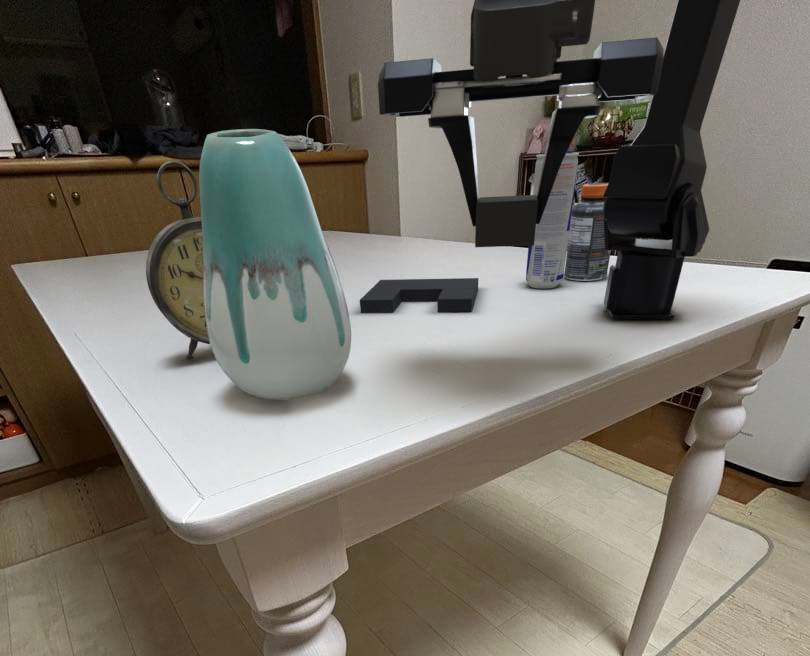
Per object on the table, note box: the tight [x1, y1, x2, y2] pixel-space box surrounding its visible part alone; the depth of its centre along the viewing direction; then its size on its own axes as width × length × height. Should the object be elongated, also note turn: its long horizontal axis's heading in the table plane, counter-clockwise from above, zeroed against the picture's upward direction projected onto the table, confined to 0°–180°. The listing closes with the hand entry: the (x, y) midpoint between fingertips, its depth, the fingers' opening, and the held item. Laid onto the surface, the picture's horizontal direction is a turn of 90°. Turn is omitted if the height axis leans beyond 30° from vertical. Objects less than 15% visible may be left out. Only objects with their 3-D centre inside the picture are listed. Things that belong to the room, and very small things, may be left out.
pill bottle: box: [563, 182, 611, 282], centre depth 71 cm, size 6×6×11 cm
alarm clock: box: [145, 160, 210, 361], centre depth 50 cm, size 11×5×16 cm, turn 119°
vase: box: [198, 128, 352, 401], centre depth 40 cm, size 12×12×18 cm
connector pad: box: [474, 194, 538, 248], centre depth 41 cm, size 5×5×3 cm
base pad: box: [359, 277, 479, 314], centre depth 68 cm, size 14×12×2 cm
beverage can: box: [525, 150, 580, 290], centre depth 67 cm, size 5×5×15 cm
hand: (505, 224), depth 41 cm, fingers closed on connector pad, 4 cm apart
